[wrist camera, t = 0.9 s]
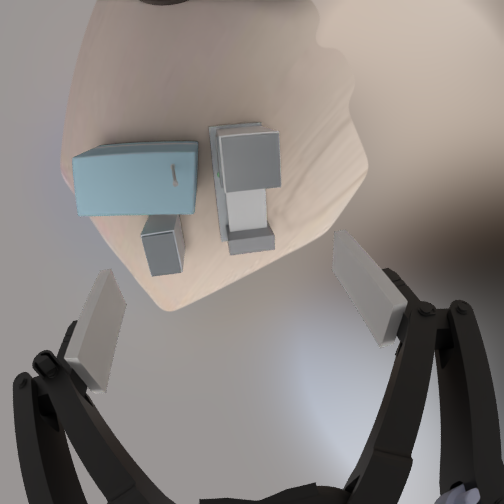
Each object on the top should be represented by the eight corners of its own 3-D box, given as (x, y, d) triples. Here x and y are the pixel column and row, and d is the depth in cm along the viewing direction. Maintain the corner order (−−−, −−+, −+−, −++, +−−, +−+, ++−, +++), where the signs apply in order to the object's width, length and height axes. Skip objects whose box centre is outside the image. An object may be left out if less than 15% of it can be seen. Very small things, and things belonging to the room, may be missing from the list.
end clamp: (225, 225, 48) (228, 240, 43) (266, 219, 48) (274, 235, 43) (227, 238, 49) (230, 255, 44) (267, 233, 50) (274, 249, 44)
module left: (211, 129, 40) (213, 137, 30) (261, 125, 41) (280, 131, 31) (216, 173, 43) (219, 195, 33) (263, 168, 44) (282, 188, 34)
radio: (105, 196, 42) (53, 255, 25) (102, 144, 38) (38, 173, 21) (196, 194, 45) (192, 255, 28) (198, 140, 41) (193, 164, 24)
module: (148, 214, 45) (138, 236, 38) (178, 210, 46) (173, 231, 38) (156, 251, 49) (149, 277, 41) (185, 247, 49) (182, 273, 42)
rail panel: (208, 126, 40) (209, 128, 37) (260, 122, 41) (265, 123, 38) (221, 240, 50) (222, 249, 47) (266, 234, 50) (270, 243, 47)
